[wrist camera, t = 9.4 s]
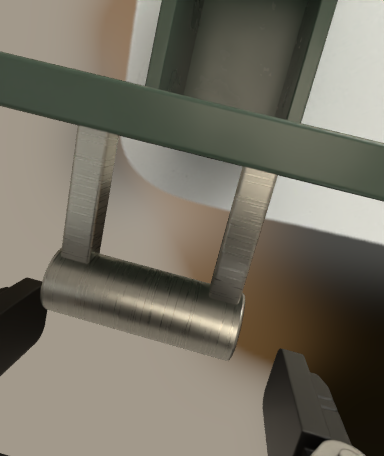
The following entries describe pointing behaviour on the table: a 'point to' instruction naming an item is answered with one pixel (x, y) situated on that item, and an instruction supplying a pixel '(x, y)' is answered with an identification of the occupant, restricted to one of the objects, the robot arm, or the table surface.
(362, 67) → the table surface
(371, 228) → the table surface
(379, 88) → the table surface
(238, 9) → the green storage bin
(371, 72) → the table surface
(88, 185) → the bin lid
